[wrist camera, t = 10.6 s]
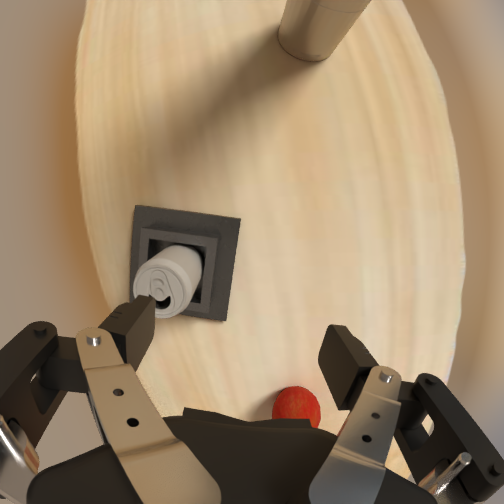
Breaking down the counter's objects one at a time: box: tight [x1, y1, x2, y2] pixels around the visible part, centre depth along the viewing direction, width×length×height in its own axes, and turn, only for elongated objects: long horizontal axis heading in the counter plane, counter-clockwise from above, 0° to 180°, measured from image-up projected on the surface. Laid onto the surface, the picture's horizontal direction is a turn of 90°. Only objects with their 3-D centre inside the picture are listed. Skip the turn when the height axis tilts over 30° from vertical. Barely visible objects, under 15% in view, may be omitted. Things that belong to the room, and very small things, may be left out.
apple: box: [272, 386, 321, 428], centre depth 39 cm, size 8×8×11 cm
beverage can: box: [133, 243, 204, 318], centre depth 31 cm, size 6×6×12 cm
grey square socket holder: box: [130, 205, 241, 321], centre depth 36 cm, size 15×15×4 cm
